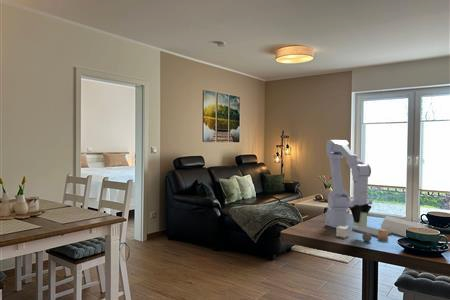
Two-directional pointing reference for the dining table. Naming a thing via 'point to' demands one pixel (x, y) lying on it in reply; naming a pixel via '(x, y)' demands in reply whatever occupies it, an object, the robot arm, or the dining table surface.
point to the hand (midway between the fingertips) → (359, 221)
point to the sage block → (361, 220)
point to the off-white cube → (342, 231)
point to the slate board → (368, 231)
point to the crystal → (399, 225)
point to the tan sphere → (382, 234)
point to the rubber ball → (366, 237)
